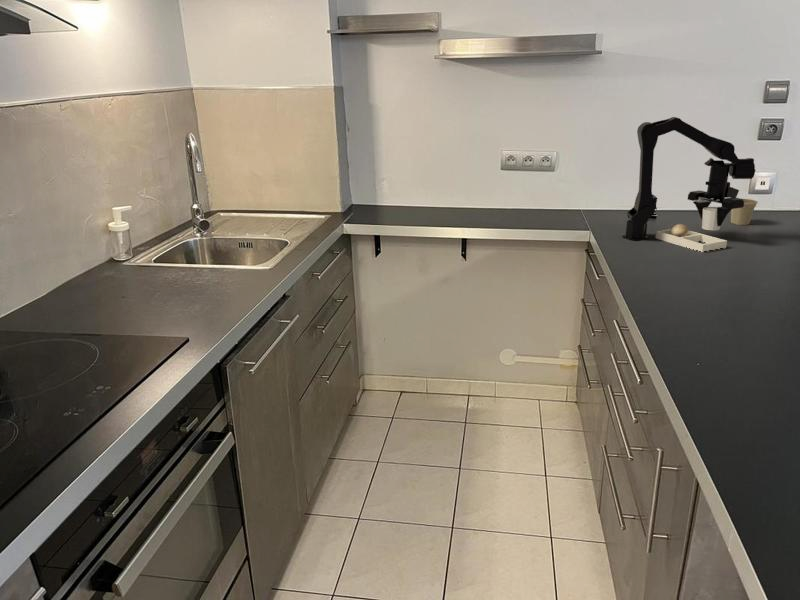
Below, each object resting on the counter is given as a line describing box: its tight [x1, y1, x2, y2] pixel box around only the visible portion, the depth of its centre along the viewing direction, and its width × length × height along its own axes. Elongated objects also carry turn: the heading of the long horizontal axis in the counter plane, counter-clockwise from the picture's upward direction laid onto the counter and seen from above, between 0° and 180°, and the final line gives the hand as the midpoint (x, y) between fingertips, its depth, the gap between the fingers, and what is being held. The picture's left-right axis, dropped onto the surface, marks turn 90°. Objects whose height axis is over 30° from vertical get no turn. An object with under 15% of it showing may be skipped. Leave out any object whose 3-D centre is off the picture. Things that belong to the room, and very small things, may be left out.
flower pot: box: [730, 198, 759, 226], centre depth 232 cm, size 9×9×9 cm
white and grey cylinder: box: [701, 206, 721, 231], centre depth 213 cm, size 7×7×7 cm
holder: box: [655, 228, 728, 253], centre depth 211 cm, size 11×20×2 cm, turn 23°
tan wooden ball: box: [670, 223, 689, 237], centre depth 214 cm, size 6×6×6 cm
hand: (711, 223), depth 214 cm, fingers closed on white and grey cylinder, 6 cm apart
